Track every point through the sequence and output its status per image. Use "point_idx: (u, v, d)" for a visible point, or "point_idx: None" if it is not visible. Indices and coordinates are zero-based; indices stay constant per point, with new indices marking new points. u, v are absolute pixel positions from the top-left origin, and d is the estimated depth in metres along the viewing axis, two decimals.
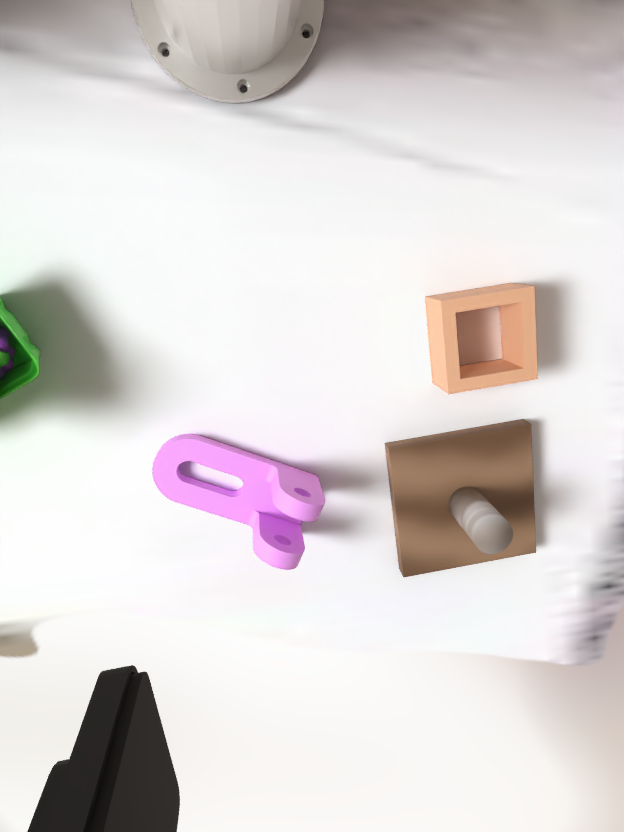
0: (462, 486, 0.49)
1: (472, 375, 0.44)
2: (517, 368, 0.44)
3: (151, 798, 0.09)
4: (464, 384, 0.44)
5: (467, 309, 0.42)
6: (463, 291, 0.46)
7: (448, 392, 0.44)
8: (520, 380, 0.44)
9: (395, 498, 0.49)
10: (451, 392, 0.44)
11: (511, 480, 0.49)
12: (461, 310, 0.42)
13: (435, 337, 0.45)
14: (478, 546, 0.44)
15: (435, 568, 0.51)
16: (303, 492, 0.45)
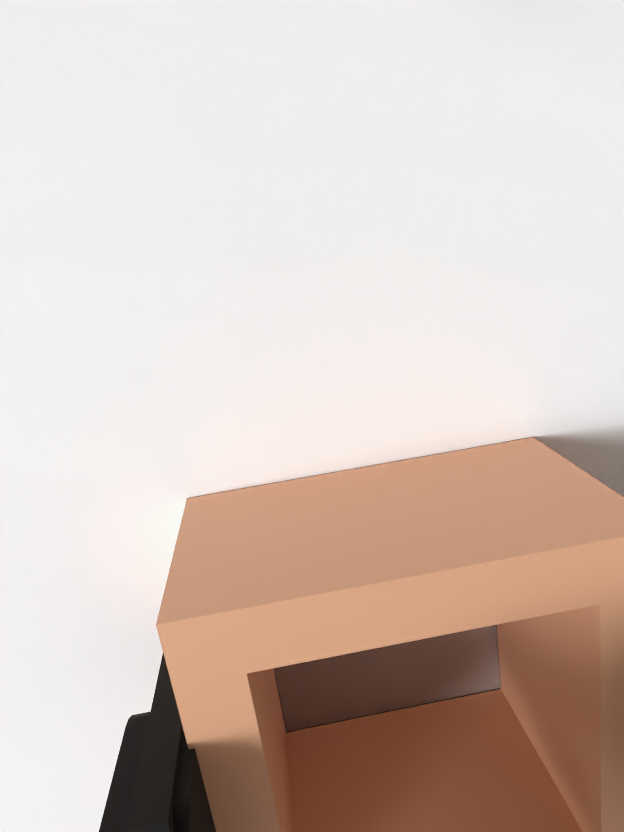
0: None
1: None
2: None
3: None
4: None
5: (312, 654, 0.08)
6: (338, 484, 0.11)
7: None
8: None
9: None
10: None
11: None
12: (279, 661, 0.08)
13: None
14: None
15: None
16: None
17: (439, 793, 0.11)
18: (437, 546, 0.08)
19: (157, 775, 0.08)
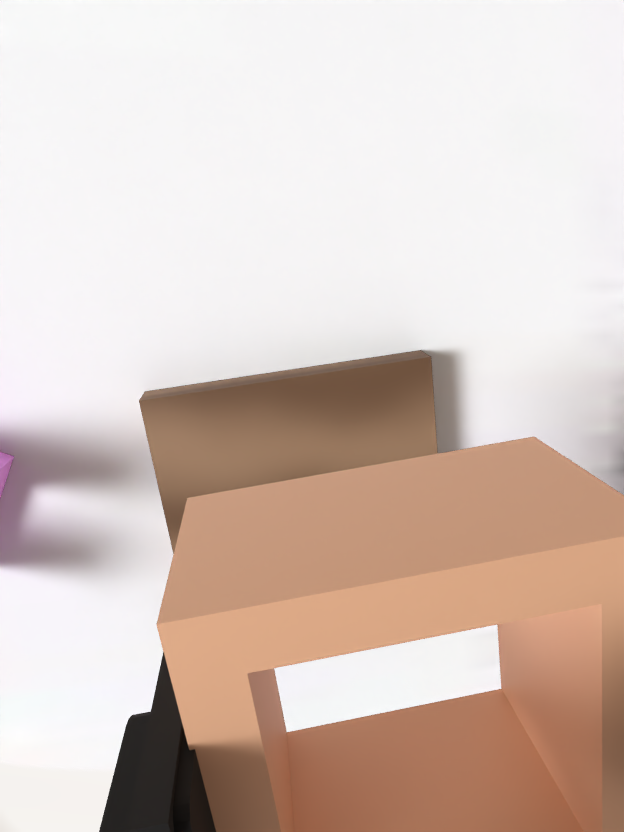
0: None
1: None
2: None
3: None
4: None
5: (313, 654, 0.08)
6: (338, 484, 0.11)
7: None
8: None
9: (163, 500, 0.25)
10: None
11: None
12: (280, 661, 0.08)
13: None
14: None
15: None
16: None
17: (440, 793, 0.11)
18: (438, 546, 0.08)
19: (157, 775, 0.08)
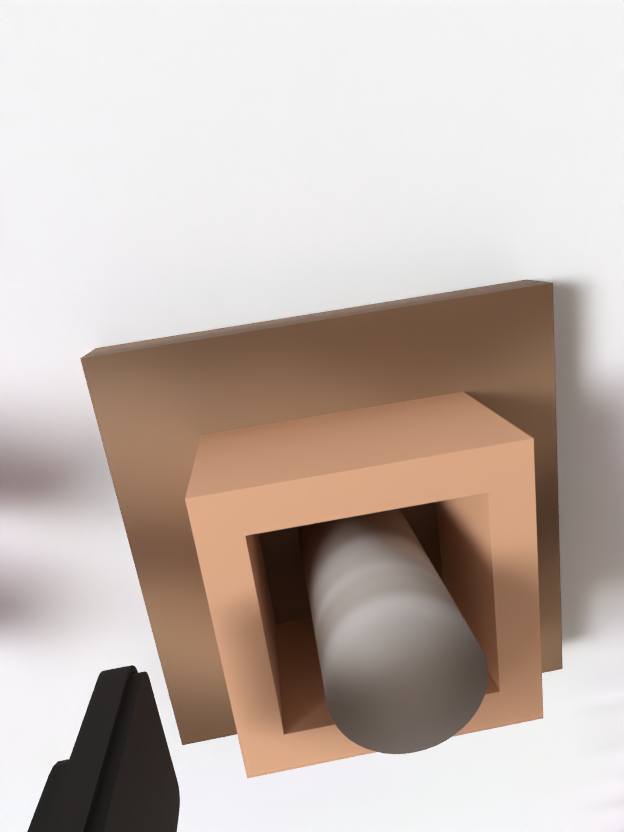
0: None
1: (328, 713, 0.13)
2: None
3: (151, 798, 0.09)
4: (299, 748, 0.13)
5: (289, 523, 0.12)
6: (313, 424, 0.15)
7: (248, 771, 0.13)
8: (487, 725, 0.14)
9: (126, 520, 0.16)
10: (257, 773, 0.13)
11: None
12: (267, 527, 0.12)
13: None
14: (345, 727, 0.11)
15: None
16: None
17: None
18: (377, 453, 0.12)
19: None
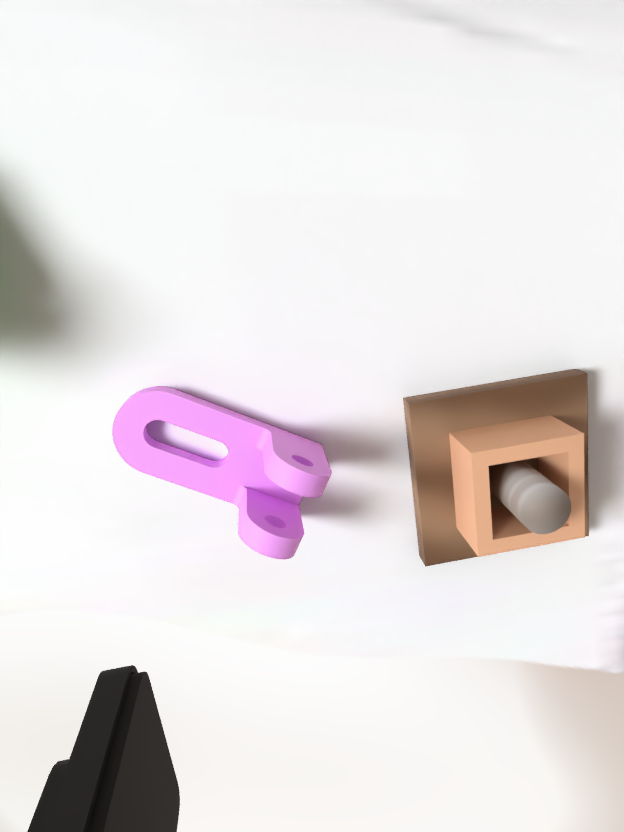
0: None
1: (506, 534, 0.37)
2: None
3: (151, 798, 0.09)
4: (497, 545, 0.37)
5: (502, 461, 0.35)
6: (495, 428, 0.38)
7: (478, 554, 0.37)
8: (564, 539, 0.37)
9: (416, 466, 0.39)
10: (481, 554, 0.37)
11: None
12: (495, 463, 0.35)
13: (462, 485, 0.38)
14: (526, 524, 0.34)
15: (465, 555, 0.41)
16: (303, 462, 0.35)
17: None
18: (530, 438, 0.36)
19: None
